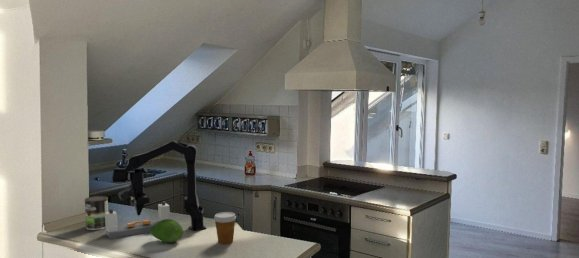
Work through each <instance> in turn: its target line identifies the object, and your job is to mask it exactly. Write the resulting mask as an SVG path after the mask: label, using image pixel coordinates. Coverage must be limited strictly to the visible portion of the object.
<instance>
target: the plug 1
mask: <svg viewBox="0 0 579 258" xmlns="http://www.w3.org/2000/svg"><path fill="white" fill-rule="evenodd" d="M118 223H119V222H118V213H117V211H114V209H113V208H112V209H111V208H110V209H108V212H106V228H105V231H106V230H107V231H108V232H115V231H118V227H119V225H118Z"/></svg>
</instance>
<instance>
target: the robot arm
mask: <svg viewBox="0 0 579 258" xmlns="http://www.w3.org/2000/svg"><path fill="white" fill-rule="evenodd" d="M170 151H176V152H177V153H179V154H181V155H183V156H184V160H185V163H186V176H187V181H186V182H187V196H185V197H184V198H183V202H184V207H183V208H184V209H185V212H186V213H188V214H189V216H190V223H191V224H190V226H188V229H190V230H192V231H194V232H195V231H200V230H205V229H207V227H206V226H205V225H204V215H203V213H204V211H205V209H204V207H202V205H200V201H199V197H198V193H197V178H196V177H197V175H196V171H197V170H196V162H197V158H198V147H197V146H196V145H195V144H193V143H192V144H186V143H183V142H180V141H177V140H173V139H172V140H171V141H169V142H167V143H164V144H162V145H160V146H158V147H156V148H154V149H152V150H151V149H150V150H149V151H146V152H142V153H138V154H137V153H136V154H134V155H133V156H131V157H130V158H129V160H128V165H127V166H126V167H125V168H119V167H116V168H113V172H112V177H111V178H112V183H113V184H126V183H128V181H130V183H129V185H128V187H127V188H125V189H123V190H121V191H120V192H118V193H117V195H118V197H119V199H120V201H122V202H123V201H125V200H127V199H129V198H131V199H129V201H130V202H131V203H132V204H133V205H134V209H135V213H136V215H137V216H140V215H141V214H142V211H143V209H144V207H145V205H147V204H150V203H151V198H149V197H148V196H147V195H146V193H145V187H146V185H145V184H146V183H144V182H145V181H144V174H146V173H148V169H147V168H145V167H144V166H143V165H145V164H146V163H147V162H149V161H151V160H153V159H155V158H157V157H159V156H162V155H164V154H166V153H169V152H170ZM141 166H143V167H142V168H140V167H141Z"/></svg>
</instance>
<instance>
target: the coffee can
mask: <svg viewBox="0 0 579 258" xmlns="http://www.w3.org/2000/svg"><path fill="white" fill-rule="evenodd" d="M108 199H109V197H108V196H105V195H95V196H94V195H93V196H89V197H86V198H84V205H85V206H84V207H85V208H84V209H85V210H84V211H85V226H86V227H85V229H86V230H88V231H100V230H104V229H106V212H109V203H108Z"/></svg>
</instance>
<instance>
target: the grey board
mask: <svg viewBox="0 0 579 258" xmlns="http://www.w3.org/2000/svg"><path fill="white" fill-rule="evenodd" d="M150 222H151V223H150V224H142V223H137V224H135V226H132V227H127V224H126V225H121V226H120V225H119V226H118V231H115V232H108V231H107V230H106V229H105V235H106V237H107V238H108V239H109V240H112V239H118V238H122V237H123V238H124V237H128V236H133V235H134V236H135V235H139V234H145V233H150V231H151V228H152V226H153V225H154V224H156V223H157V222H160V221H159V219H155V220H150Z"/></svg>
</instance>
